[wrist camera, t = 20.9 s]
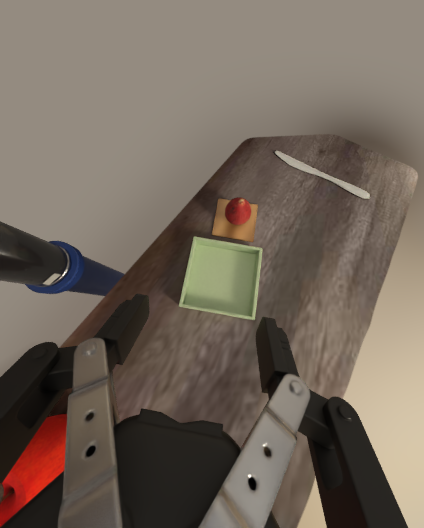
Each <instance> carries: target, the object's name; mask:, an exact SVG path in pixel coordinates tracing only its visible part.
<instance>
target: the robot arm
mask: <svg viewBox="0 0 424 528" xmlns="http://www.w3.org/2000/svg"><path fill="white" fill-rule="evenodd" d="M71 262H72V261H71V256H70V254H69V253H68V251H67V250H65V249H64V248H62V247H60V246H57V245H54V244H51V243H49V242H47V241H45V240H42V239H40V238H38V237H35V236H33V235H31V234H28V233H26V232H24V231H21V230H19V229H16V228H14V227H12V226H9V225H7V224H5V223H2V222H0V281H7V282H14V283H22V284H28V285H34V286H38V287H50V286H53V285H56V284H58V283H59V282H61V281H62V280H63V279H64V278H65V277H66V276H67V274H68V273H69V271H70V268H71ZM148 316H149V298H148V296H147V295H141V294H136V295H135V296H134V297H133V299H132V300H126V301H125V302H123V303H122V304H120V305H119V306H118V308H117V309H116V310H115V312H114V313H113V314H112V315H111V317H110V318H109V319H108V320H107V322H106V323H105V324H104V325H103V327H102V328H101V329H100V330H99V332H98V333H97V334H96V335H95V336H94V337H93V338H91V339H88V340H85V341H84V342H82V343H81V344H80V345H79V346H73V347H65V348H58V347H57V345H56V344H55V343H53V342H45V343H41V344H38V345H36V346H34V347H32V348H31V349H29V350H28V351H27V352H26V353H25V354H24V355H23V356H22V357H21V358H20V359H19V360H18V361H17V362H16V363H15V364H14V365H13V366H12V367H11V368H10V369H8V370H7V372H5V373H4V374H3V376H1V377H0V504H1V502H2V498H3V494H4V487H3V484H2V483H3V481H4V480H5V478H6V477H7V475H8V474H9V472H10V471H11V469H12V468H13V466H14V465H15V463H16V462H17V460H18V459H19V457H20V456H21V455H22V453H23V452H24V450H25V449H26V447H27V446H28V444H29V443H30V441H31V440H32V438H33V437H34V435H35V434H36V432H37V431H38V429H39V428H40V427H41V425H42V424H43V422H44V421H45V419H46V418H47V416H48V415H49V413H50V412H51V410H52V409H53V407H54V406H55V404H56V403H57V402H58V400H59V399H60V397H61V396H62V394H63V393H64V391H65V390H66V389H67V388H73V389H72V393H70V394H69V397H68V410H67V428H66V447H65V465H64V471H63V472H62V473H61V474H59V475H58V476H57V477H56V478H55V479H54V480H53V481H51V482H50V483H49V484H48V485H47V486H46V487H45V488H44V489H42V490H41V491H40V492H39V493H38V494H37V495H36V496H35V497H33V498H32V499H31V500H30V501H29V502H28V503H27V504H26V505H24V506H23V507H22V508H21V509H20V510H19V511H18V512H17V513H15V514H14V515H13V516H12V517H11V518H10V519H9V520H8V521H6V522H5V523H4V524H3V525H2V526H1V527H0V528H280V527H279V525H278V523H277V521H276V519H275V517H274V515H273V513H272V511H271V509H272V506H273V503H274V501H275V498H276V495H277V493H278V490H279V487H280V485H281V482H282V479H283V477H284V474H285V471H286V469H287V466H288V463H289V461H290V458H291V455H292V453H293V450H294V447H295V445H296V441H297V437H296V433H297V431H299V432H300V433H302V434H304V435H305V436H307V439H308V444H309V448H310V453H311V458H312V462H313V467H314V471H315V476H316V480H317V485H318V489H319V494H320V498H321V503H322V507H323V512H324V516H325V521H326V525H327V528H408V526H407V524H406V522H405V519H404V517H403V515H402V513H401V511H400V508H399V506H398V504H397V502H396V499H395V497H394V495H393V493H392V490H391V488H390V486H389V483H388V481H387V479H386V477H385V474H384V472H383V470H382V467H381V465H380V463H379V461H378V458H377V456H376V454H375V452H374V449H373V448H372V445H371V443H370V441H369V438H368V436H367V434H366V431H365V429H364V427H363V425H362V422H361V420H360V418H359V416H358V414H357V412H356V411H355V410H354V408H353V407H352V406H351V405H350V404H349V403H348V402H346V401H345V400H343V399H341V398H339V397H331V398H330V399H329V400H328V399H326V398H324V397H322V396H320V395H318V394H316V393H315V392H313V391H311V390H310V389H309V388H308V386H307V385H306V383H305V382H304V381H303V380H302V379H301V378H300V377H299V375H298V371H297V368H296V365H295V361H294V358H293V355H292V351H291V348H290V345H289V342H288V338H287V335H286V334H285V332H284V331H283V330H282V328H278V327H277V325H276V321H275V319H272V318H267V317H262V319H261V322H260V324H259V327H258V329H257V332H256V346H257V355H258V363H259V371H260V379H261V388H262V392H264V393H268V396H269V401H268V402H267V404H266V406H265V407H264V409H263V411H262V413H261V414H260V416H259V418H258V419H257V421H256V423H255V425H254V426H253V428H252V430H251V431H250V433H249V435H248V436H247V438H246V440H245V441H244V443H243V445H242V446H241V448H240V447H239V446H238V445H237V443H236V442H235V441H234V440H233V439H232V438H231V437H230V436H229V435H228V434H227V433H225V432H224V431H222V428H223V424H219V423H213V422H208V421H203V420H202V421H195V422H187V423H179V422H177V421H175V420H174V419H172V418H170V417H168V416H167V415H165V414H163V413H162V412H157V411H152V410H147V409H141V411H140V414H139V415H135V416H132V417H129V418H127V419H124V420H123V421H121V422H120V418H119V412H118V407H117V401H116V394H115V386H114V378H113V371H112V370H113V368H114V367H115V365H116V364H120V365H123V363H124V361H125V359H126V357H127V356H128V354H129V352H130V350H131V348H132V347H133V345H134V343H135V341H136V339H137V337H138V336H139V334H140V332H141V330H142V328H143V327H144V325H145V323H146V321H147V319H148Z"/></svg>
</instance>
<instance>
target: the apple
mask: <svg viewBox="0 0 424 528" xmlns="http://www.w3.org/2000/svg"><path fill="white" fill-rule="evenodd" d="M66 428H67V414H60V415H55V416H50V417H47V418H46V419H45V421H44V422H43V424H42V425H41V427H40V428H39V429H38V431H37V432H36V434H35V435H34V437H33V438H32V440H31V441H30V443H29V444H28V446H27V447H26V449H25V450H24V452H23V453H22V455H21V456H20V457H19V459H18V460H17V462H16V463H15V465H14V466H13V468H12V469H11V471H10V472H9V474H8V475H7V477H6V478H5V480H4V481H3V483H2V484H3V487H4V494H3V498H2V502H1V504H0V527H1V526H2V525H3V524H4V523H5V522H6V521H8V520H9V519H10V518H11V517H12V516H13V515H14V514H15V513H17V512H18V511H19V510H20V509H21V508H22V507H23V506H24V505H26V504H27V503H28V502H29V501H30V500H31V499H32V498H33V497H35V496H36V495H37V494H38V493H39V492H40V491H41V490H42V489H44V488H45V487H46V486H47V485H48V484H49V483H50V482H51V481H53V480H54V479H55V478H56V477H57V476H58V475H59V474H61V473H62V472H63V471H64V465H65V447H66Z"/></svg>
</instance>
